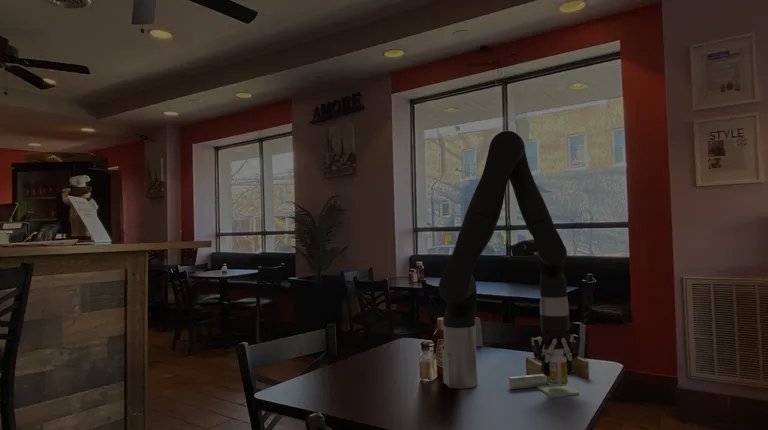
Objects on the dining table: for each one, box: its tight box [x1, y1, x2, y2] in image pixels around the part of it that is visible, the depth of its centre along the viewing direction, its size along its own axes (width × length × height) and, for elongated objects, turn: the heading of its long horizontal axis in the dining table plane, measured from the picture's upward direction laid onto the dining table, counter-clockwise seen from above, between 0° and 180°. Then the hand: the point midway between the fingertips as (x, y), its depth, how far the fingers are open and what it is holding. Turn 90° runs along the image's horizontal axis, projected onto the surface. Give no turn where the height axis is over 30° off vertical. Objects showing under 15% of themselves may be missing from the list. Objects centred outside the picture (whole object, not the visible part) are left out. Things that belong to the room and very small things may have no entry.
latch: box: [508, 374, 550, 390], centre depth 146 cm, size 14×2×4 cm, turn 100°
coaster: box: [536, 384, 580, 398], centre depth 141 cm, size 8×8×1 cm
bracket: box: [525, 356, 590, 379], centre depth 155 cm, size 15×9×5 cm, turn 100°
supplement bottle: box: [547, 348, 569, 386], centre depth 141 cm, size 5×5×10 cm
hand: (556, 374), depth 141 cm, fingers closed on supplement bottle, 5 cm apart
